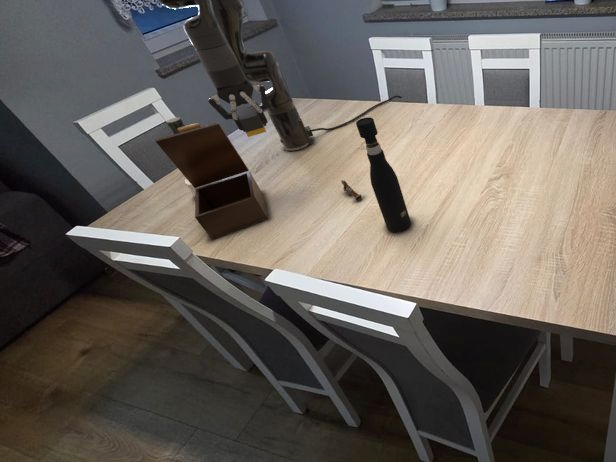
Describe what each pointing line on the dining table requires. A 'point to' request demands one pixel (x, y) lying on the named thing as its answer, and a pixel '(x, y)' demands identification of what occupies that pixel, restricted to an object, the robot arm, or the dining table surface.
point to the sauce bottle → (175, 124)
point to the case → (229, 205)
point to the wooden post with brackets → (350, 191)
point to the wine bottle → (384, 180)
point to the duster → (250, 121)
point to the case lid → (203, 153)
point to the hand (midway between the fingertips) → (255, 127)
